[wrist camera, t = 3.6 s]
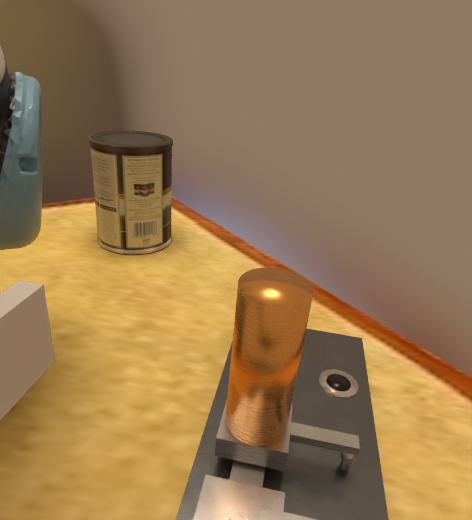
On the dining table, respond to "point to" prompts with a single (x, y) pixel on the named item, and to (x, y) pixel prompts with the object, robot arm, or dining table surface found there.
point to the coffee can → (132, 190)
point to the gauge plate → (299, 449)
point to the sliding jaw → (270, 374)
